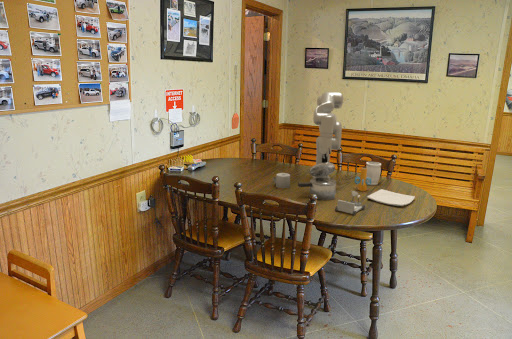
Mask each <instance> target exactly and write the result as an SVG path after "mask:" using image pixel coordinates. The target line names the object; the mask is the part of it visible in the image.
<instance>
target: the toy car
mask: <svg viewBox="0 0 512 339" xmlns="http://www.w3.org/2000/svg"><path fill="white" fill-rule="evenodd" d="M351 196H352V199H354V197H356V196H357V201H354V200H351V201H348V200H341V199H338V200H337V203H336V204H337V205H336V206H335V207H334V208H335V209H334V211H335V212H343V213H347V214H351V215H352V216H353V217H354V216H356V215H357V212H359V211H364V210H365V209H366V206H365V204H362V202H359V201H360V200H359V199H360V198H361V195H360V194H359V193H358V191H357V190H351Z"/></svg>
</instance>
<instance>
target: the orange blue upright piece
mask: <svg viewBox="0 0 512 339" xmlns="http://www.w3.org/2000/svg"><path fill="white" fill-rule="evenodd" d="M366 177H367V168H366V167H361V168H360V175H359V176H355V177H354V183H355V184H356V185H357V191H360V192H366V191H368V190H367V189H368V186H371V185H370V184H371V178H370V177H368V178H369V179H368V178H366ZM367 180H370V181H369V182H367ZM368 183H370V184H368Z"/></svg>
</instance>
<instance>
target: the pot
mask: <svg viewBox="0 0 512 339" xmlns="http://www.w3.org/2000/svg"><path fill="white" fill-rule="evenodd" d="M297 186H298V188H308V187H309V195H310V194H316V195H317V197H318V199H317V200H319V201H331V200H334V199H335V198H336V189H337V188H336V187H337V180H336V179H332V178H330V179H329V178H313V177H312V178H311V179H310V181H309V182H307V181H305V182H303V181H302V182H301V181H300V182H297Z"/></svg>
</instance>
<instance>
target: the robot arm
mask: <svg viewBox="0 0 512 339" xmlns="http://www.w3.org/2000/svg"><path fill="white" fill-rule="evenodd" d="M343 103H344V94H342V92H339V91H337V92H336V91H325V92H323V93H322V95H320V96H318V97H317V99H316V104H317V106H316V107H315V109H314V111H313V118H312V120H313V123H314V125H318V128H319V129H318V130H319V133H320V134H319V136H318V137H317V138H316V140H315V141H316V142H315V146H316V155H315V156H316V157H315V165H316V164H319V163H323V162H329V163H330V159H331V158H330V157H331V153H332V150H333V151H334V150H335V151H338V150H340V148H341V145H342V131H343V130H342V128H343V126H342V123H341V121H338V120H337V119H338V118H337V115H336V114H335V113H332V112H333V110H335V109H341V108H342V106H343ZM312 178H329V179H331V177H330V175H327V176H323V177H314V176H312Z"/></svg>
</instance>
